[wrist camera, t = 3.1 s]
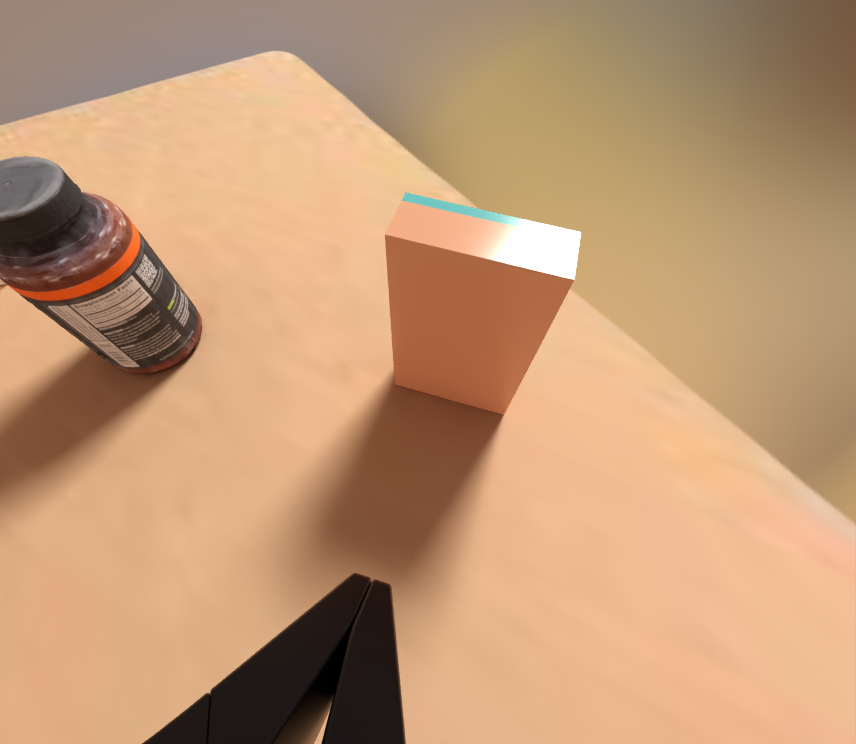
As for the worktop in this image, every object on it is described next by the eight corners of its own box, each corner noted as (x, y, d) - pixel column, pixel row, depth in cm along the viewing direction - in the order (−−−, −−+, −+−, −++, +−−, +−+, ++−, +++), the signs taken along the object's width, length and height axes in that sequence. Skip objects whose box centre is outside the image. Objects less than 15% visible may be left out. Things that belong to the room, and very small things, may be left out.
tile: (503, 414, 25) (574, 279, 14) (395, 384, 25) (385, 234, 15) (511, 380, 26) (581, 232, 15) (407, 352, 26) (405, 192, 16)
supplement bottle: (101, 321, 27) (-79, 159, 17) (194, 290, 28) (79, 126, 18) (115, 393, 24) (-86, 253, 14) (216, 355, 26) (96, 205, 16)
